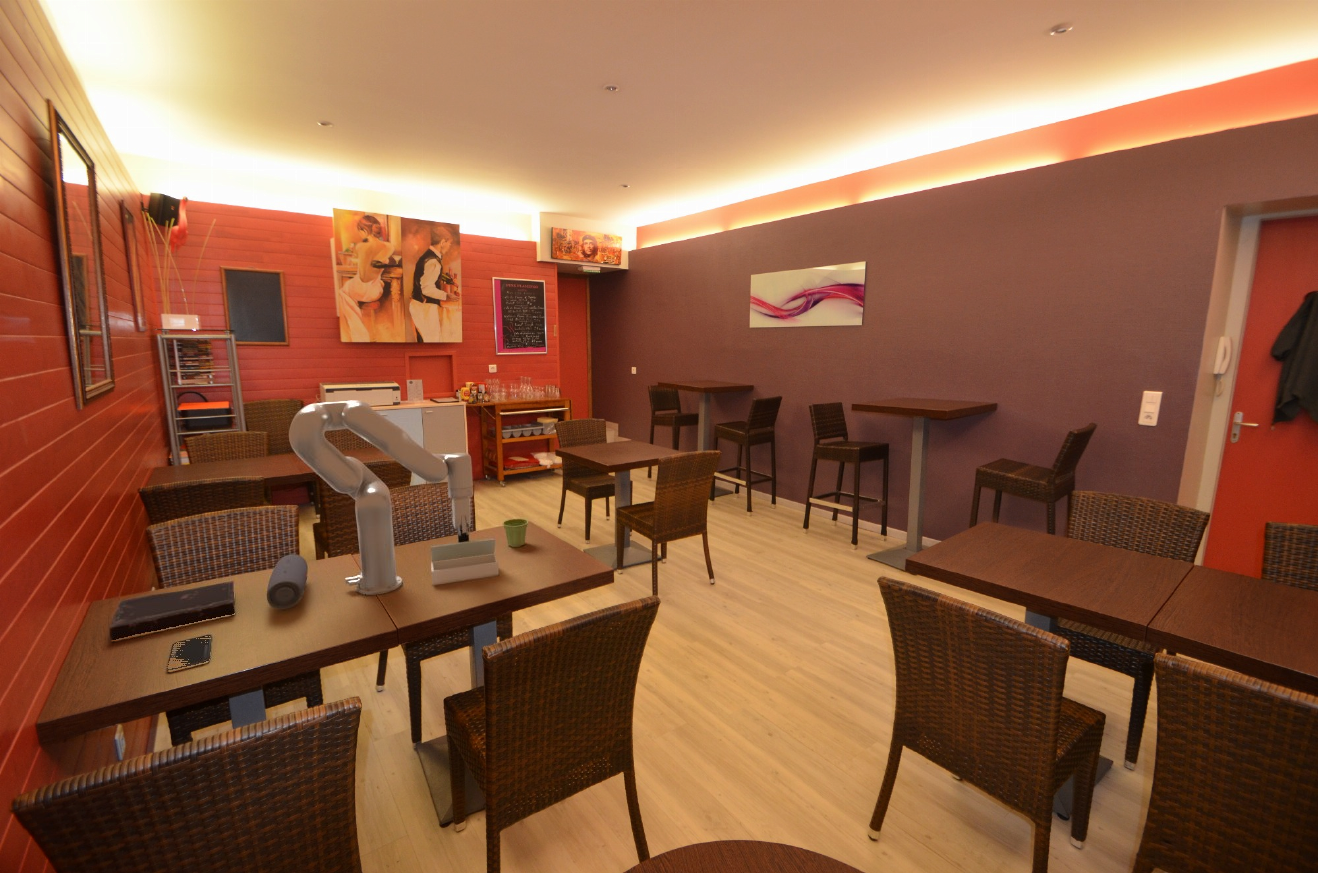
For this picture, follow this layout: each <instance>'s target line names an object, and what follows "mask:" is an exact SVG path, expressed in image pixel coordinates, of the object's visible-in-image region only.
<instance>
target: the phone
mask: <svg viewBox="0 0 1318 873" xmlns="http://www.w3.org/2000/svg"><path fill="white" fill-rule="evenodd" d="M205 636H208V637H205ZM209 636H210V637H209ZM196 638H197V639H196ZM198 638H199V639H198ZM200 638H211V639H200ZM186 640H190V641H186ZM205 640H206V641H205ZM177 642H185V643H181V644H185V645H181V647H173V646H174V644H176V643H177ZM201 642H202V643H201ZM205 642H206V643H205ZM207 642H208V643H207ZM211 642H212V643H213V634H205V635H201V636H196V637H192V638H191V637H190V638H187V639H182V640H179V641H176V642H174V643H172V645H171V649H170V653H169V658H168V661H167V665H169V664H168V663H169V661H170V658H176V659H184V660H182V661H188V662H181V663H187V664H185V665H186V666H181V667H178V668H182V667H187V666H191V665H196V664H199V663H204V662H206V661H209V659H210V660H211V658H210V657H211V656H210V652H211V653H212V646H211ZM177 644H178V643H177ZM179 644H180V643H179ZM175 646H176V645H175ZM177 646H178V645H177ZM179 646H180V645H179ZM173 648H180V649H173ZM172 650H178V651H172ZM180 650H181V651H180ZM182 650H183V651H182ZM172 652H176V653H172ZM171 654H174V655H171ZM180 654H181V655H180ZM172 656H173V657H172ZM174 656H175V657H174ZM176 656H178V657H176ZM188 659H189V660H188ZM173 661H174V660H173ZM175 661H176V660H175ZM177 661H178V660H177ZM179 661H180V660H179ZM188 663H190V664H188ZM183 665H184V664H183ZM167 667H168V666H166V671H167V670H173V669H178V668H172V669H168V668H167Z"/></svg>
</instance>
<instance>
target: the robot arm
mask: <svg viewBox="0 0 1318 873" xmlns="http://www.w3.org/2000/svg"><path fill="white" fill-rule="evenodd" d="M289 426H290V427H289V430H288V439H289V443H290V444H289V445H290V446H291V449H292V450H293V452H294V453H295V454H296V455H297V457H298V458H299V459H300V460H302V462H303V463H305V464H306V465H307V466H308V467H309V468H310V469H311V470H312V471H313V472H314V473H315V474H316V475H318V476H319V477H320V478H321V479H322V480H323V481H324V482H326V484H328V486H330V487H331V489H333V490H335V491H336V492H337V493H340V494H347V495H349V496H350V497H351V498H352V499H353V500H354V501H355V502H354V503H355V504H354V510H355V519H356V527H357V528H356V529H357V538H358V547H359V548H358V549H359V550H358V551H359V559H360V574H357V575H356V576H353V577H352V576H350V577H349V576H347V577H345V578H344V579H345V585H348V586H349V587H350V586H356V592H357V593H358V594H361V595H365V594H366V596H375V595H383V594H386V593H387V594H388V593H390V592H393V591H395V590H397V589H398V588H400V587H401V586H402V584H403V578H402V577H400V576H398V575H397V568H396V567H397V566H396V556H395V555H396V554H395V541H394V540H395V539H394V529H393V528H394V527H393V514H392V513H393V512H392V500H391V498H392V497H391V492H390V490H389V487H388V486H387V485H386V483H384V481H382V479H380V478H379V477H378V476H377V475H376V474H375V473H374V472H373V471H372V470H371V469H370V468H368V467H367V466H366V464H364V463H363V462H362V461H360V459H358V458H356V457H353V456H345V454H343V453H342V452H341V451H340V450H339V449H338V448H337V447H336V446H335V445H334V444H332V443H331V441H328V440H327V438H326V436H325V433H326V432H327V431H339V430H349V431H351V432H352V433H353V434H355V435H357V436H359V437H360V438H361V439H363V440H364V441H366V442H368V443H369V444H371V445H373V446H374V447H375V448H377V449H378V450H380V451H381V452H383V453H385V454H386V455H387V456H389V458H391V459H392V460H395V461H396V462H398V464H400V465H402V466H403V467H404V468H406V469H407V470H409V471H410V472H411V473H413V474H414V475H415V476H418V477H420V478H421V479H423V480H424V481H426V482H427V483H431V484H437V483H441V482H443V481H444V480H445V479H446V478H447V494H448V498H449V499H451V516H452V525H453V528H454V530H457V541H458V542H457V543H459V542H467V541H470V534H469V528H471V526H472V525H471V518H472V517H471V516H472V515H471V514H472V513H471V500H470V498H472V497H473V496H474V487H473V486H474V484H473V467H472V456H471V455H470V454H469V453H467V452H453V453H450V454H449V453H448V454H447V453H445V454H444V453H431V452H429V451H427V450H426V449H425V448H424V447H422V446H420V445H419V444H418V443H417V441H415V440H414V439H413V438H412V437H411V436H410V435H409V433H408V432H406V431H405V430H404V429H403V428H401V427H400V426H398V425H397V424H395V423H394V422H392V421H390V420H389V419H387V418H386V417H384V416H383V415H381V414H380V412H377V411H376V410H374V409H373V408H372V405H370V404H369V403H368V402H366V401H363V400H347V401H333V402H320V403H319V402H316V403H311V404H307V405H305V406H303V407H302V408H301V409H299V411H297V413H295V415H294V417H293V419H292V421H291V423H290V425H289Z"/></svg>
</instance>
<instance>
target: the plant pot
mask: <svg viewBox="0 0 1318 873" xmlns="http://www.w3.org/2000/svg"><path fill="white" fill-rule="evenodd" d="M528 524H529V520H528V519H525V518H510V519H508V520H504V521H503V522H502V525H503V528H504V532H505V534H506V541H507V545H509V546H508V547H512V548H518V547H522V546H524V545H525V544H526V536H527V527H528Z"/></svg>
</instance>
